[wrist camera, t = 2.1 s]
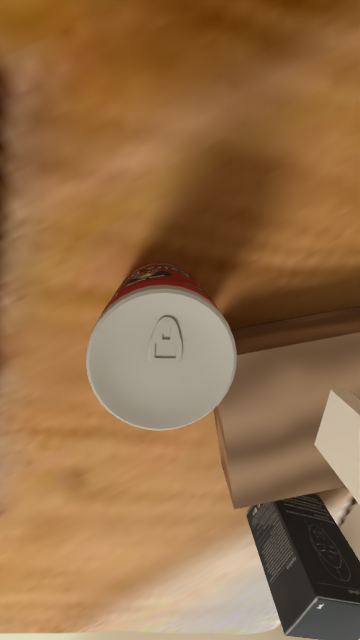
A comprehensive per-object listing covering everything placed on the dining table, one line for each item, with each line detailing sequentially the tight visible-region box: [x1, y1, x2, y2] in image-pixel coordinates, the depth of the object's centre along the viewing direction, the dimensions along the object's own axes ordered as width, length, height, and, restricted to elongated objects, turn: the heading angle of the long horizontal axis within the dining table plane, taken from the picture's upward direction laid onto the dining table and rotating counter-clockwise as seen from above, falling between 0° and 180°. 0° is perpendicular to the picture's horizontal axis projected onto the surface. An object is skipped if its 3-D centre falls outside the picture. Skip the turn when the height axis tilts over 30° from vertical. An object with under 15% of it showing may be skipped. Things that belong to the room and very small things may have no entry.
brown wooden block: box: [214, 306, 360, 509], centre depth 25 cm, size 16×16×5 cm
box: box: [247, 494, 360, 640], centre depth 28 cm, size 8×6×11 cm
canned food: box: [86, 263, 237, 430], centre depth 19 cm, size 8×8×11 cm
